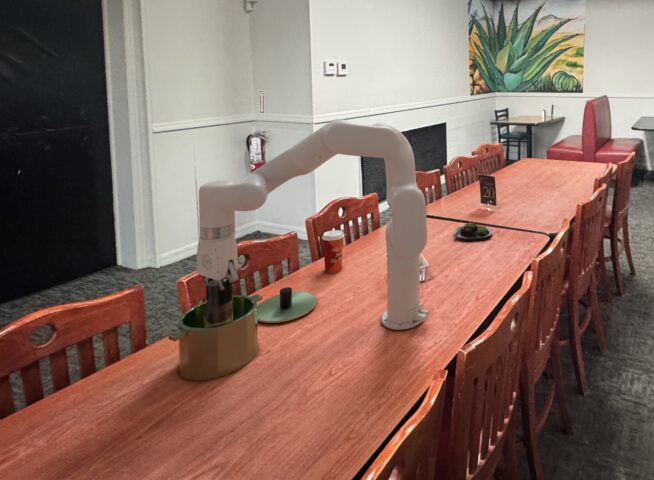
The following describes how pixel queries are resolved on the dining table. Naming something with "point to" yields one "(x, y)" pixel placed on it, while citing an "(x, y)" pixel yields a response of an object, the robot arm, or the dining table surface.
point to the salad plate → (472, 232)
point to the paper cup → (333, 250)
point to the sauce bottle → (216, 308)
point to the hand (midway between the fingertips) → (219, 300)
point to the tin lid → (285, 306)
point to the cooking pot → (217, 340)
